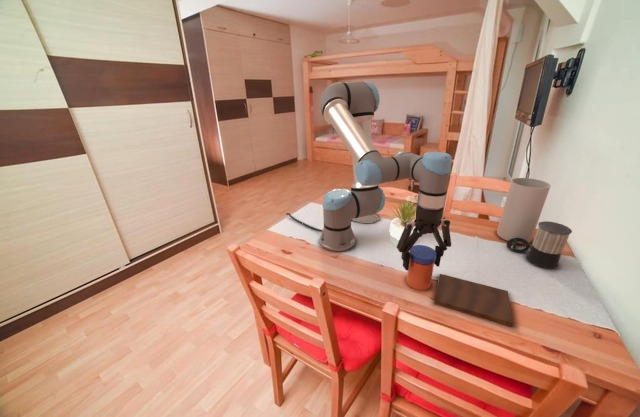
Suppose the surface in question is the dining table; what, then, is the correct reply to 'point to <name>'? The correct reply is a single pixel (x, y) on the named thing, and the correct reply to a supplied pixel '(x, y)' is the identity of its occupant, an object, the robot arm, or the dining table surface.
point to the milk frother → (544, 244)
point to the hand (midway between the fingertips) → (420, 266)
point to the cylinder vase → (522, 208)
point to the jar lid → (423, 254)
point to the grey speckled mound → (367, 219)
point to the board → (474, 299)
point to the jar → (419, 275)
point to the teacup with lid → (412, 199)
